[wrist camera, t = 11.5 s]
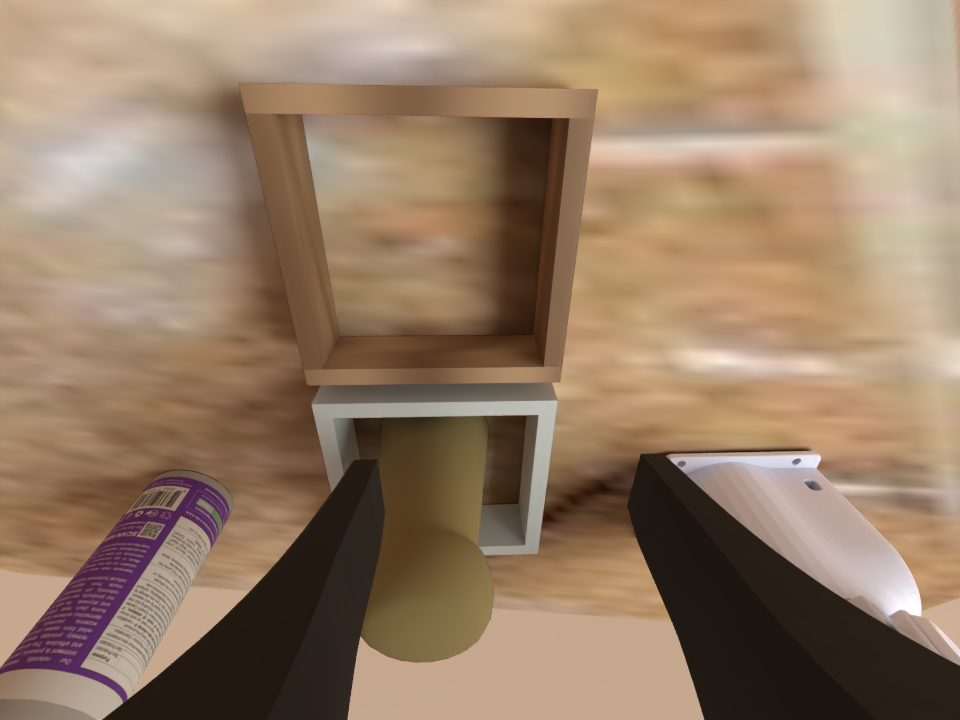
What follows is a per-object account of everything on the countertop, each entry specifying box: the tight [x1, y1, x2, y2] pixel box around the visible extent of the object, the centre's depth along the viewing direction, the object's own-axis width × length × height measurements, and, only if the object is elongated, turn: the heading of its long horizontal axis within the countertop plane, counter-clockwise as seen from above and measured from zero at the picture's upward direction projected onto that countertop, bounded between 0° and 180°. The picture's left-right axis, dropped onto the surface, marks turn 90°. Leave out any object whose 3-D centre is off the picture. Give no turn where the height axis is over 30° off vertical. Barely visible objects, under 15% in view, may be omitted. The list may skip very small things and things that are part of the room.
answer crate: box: [311, 382, 558, 555], centre depth 24 cm, size 11×11×3 cm
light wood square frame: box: [238, 83, 598, 386], centre depth 17 cm, size 11×11×3 cm
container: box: [0, 470, 233, 720], centre depth 20 cm, size 5×5×15 cm
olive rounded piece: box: [360, 416, 494, 662], centre depth 20 cm, size 6×6×11 cm
